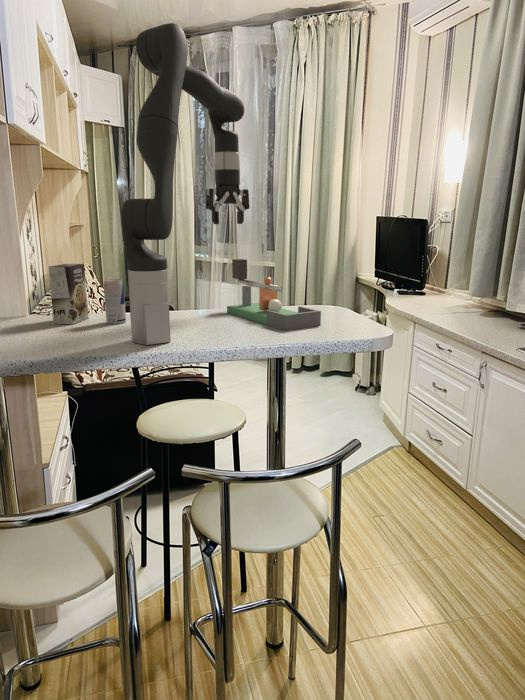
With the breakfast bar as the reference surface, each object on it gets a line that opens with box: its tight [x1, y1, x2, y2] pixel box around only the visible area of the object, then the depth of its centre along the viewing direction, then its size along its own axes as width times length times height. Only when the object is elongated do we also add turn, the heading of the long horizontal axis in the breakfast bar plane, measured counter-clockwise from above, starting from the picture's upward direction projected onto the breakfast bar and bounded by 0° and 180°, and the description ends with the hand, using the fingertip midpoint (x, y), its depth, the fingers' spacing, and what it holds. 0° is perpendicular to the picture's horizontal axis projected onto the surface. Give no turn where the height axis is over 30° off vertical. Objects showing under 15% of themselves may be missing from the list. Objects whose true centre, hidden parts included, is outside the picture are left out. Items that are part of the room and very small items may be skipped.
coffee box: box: [48, 263, 89, 325], centre depth 148 cm, size 9×6×16 cm
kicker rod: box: [231, 258, 283, 311], centre depth 158 cm, size 24×5×14 cm, turn 34°
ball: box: [268, 298, 283, 312], centre depth 152 cm, size 4×4×4 cm
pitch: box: [226, 285, 322, 331], centre depth 153 cm, size 31×12×8 cm, turn 34°
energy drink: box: [103, 278, 127, 325], centre depth 147 cm, size 5×5×12 cm
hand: (228, 224), depth 162 cm, fingers open, 8 cm apart
